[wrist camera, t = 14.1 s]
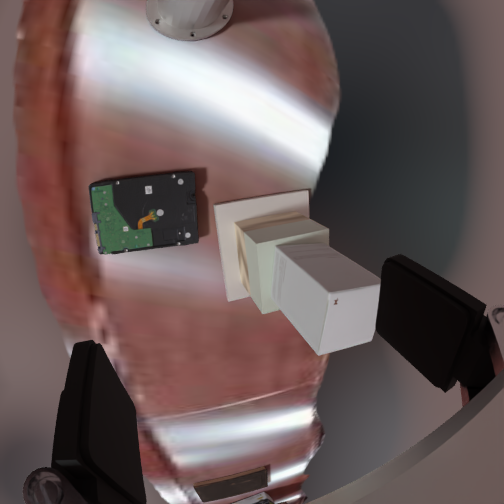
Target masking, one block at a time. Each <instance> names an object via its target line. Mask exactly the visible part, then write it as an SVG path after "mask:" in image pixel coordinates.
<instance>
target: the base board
mask: <svg viewBox="0 0 504 504" xmlns="http://www.w3.org/2000/svg"><path fill="white" fill-rule="evenodd" d="M213 205H214V212H215V220H216V227H217V234H218V241H219V248H220V255H221V262H222V269H223V275H224V282H225V289H226V295H227V300H228V301H233V300H237V299H241V298H246V297H249V296H250V295H249V293H248V292H247V290H246V289H245V287H244V286H243V284H242V283H241V277H240V269H239V261H238V252H237V244H236V236H235V227H234V222H238V221H244V220H249V219H254V218H260V217H265V216H271V215H277V214H282V213H288V212H294V211H296V212H298V213H300V214H302V215H304V216H305V217H307V218H309V195H308V190H299V191H292V192H285V193H278V194H272V195H265V196H259V197H253V198H247V199H241V200H235V201H229V202H223V203H218V204H213Z"/></svg>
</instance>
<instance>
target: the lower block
mask: <svg viewBox="0 0 504 504" xmlns="http://www.w3.org/2000/svg"><path fill="white" fill-rule="evenodd" d="M303 220H309V218H307V217H305V216H304V215H302V214H300V213H298V212H296V211H294V212H288V213H282V214H277V215H271V216H265V217H260V218H254V219H249V220H244V221H238V222H234V227H235V236H236V244H237V252H238V261H239V269H240V277H241V283H242V284H243V286H244V287H245V289H246V290H247V292H248V293H249V295H250V296H251V293H250V284H249V275H248V265H247V256H246V247H245V238H244V232H246V231H251V230H256V229H261V228H266V227H272V226H277V225H282V224H287V223H293V222H298V221H303Z"/></svg>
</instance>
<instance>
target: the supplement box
mask: <svg viewBox="0 0 504 504" xmlns="http://www.w3.org/2000/svg"><path fill="white" fill-rule="evenodd" d="M380 283H381V279H380V278H378V277H377V276H375V275H374V274H372V273H371V272H369V271H368V270H366V269H364V268H363V267H361V266H360V265H358V264H356V263H355V262H353V261H352V260H350V259H349V258H347V257H345V256H344V255H342V254H341V253H339V252H337V251H336V250H334V249H333V248H331V247H329V246H328V245H326V244H325V243H314V244H298V245H283V246H275V254H274V264H273V275H272V287H271V299H272V300H273V301H274V302H275V303H276V305H277V306H278V307H279V308H280V310H281V311H282V312H283V313H284V315H285V316H286V317H287V318H288V319H289V321H290V322H291V323H292V324H293V326H294V327H295V328H296V329H297V331H298V332H299V333H300V334H301V335H302V336H303V338H304V339H305V340H306V341H307V343H308V344H309V345H310V346H311V347H312V349H313V350H314V351H315V352H316V353H317V355H322V354H326V353H330V352H333V351H337V350H341V349H345V348H348V347H352V346H355V345H359V344H362V343H366V342H369V341H371V340H372V338H373V334H374V331H375V328H376V327H375V324H376V317H377V309H378V301H379V293H380Z"/></svg>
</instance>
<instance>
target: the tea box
mask: <svg viewBox="0 0 504 504" xmlns="http://www.w3.org/2000/svg"><path fill="white" fill-rule="evenodd" d="M232 504H274V502H273V500H272V498H271V497H270V496H269V495H268V494H266V493H265V492H261V493H259V494H256V495H254V496H251V497H249V498H246V499H243V500H240V501H238V502H235V503H232Z"/></svg>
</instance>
